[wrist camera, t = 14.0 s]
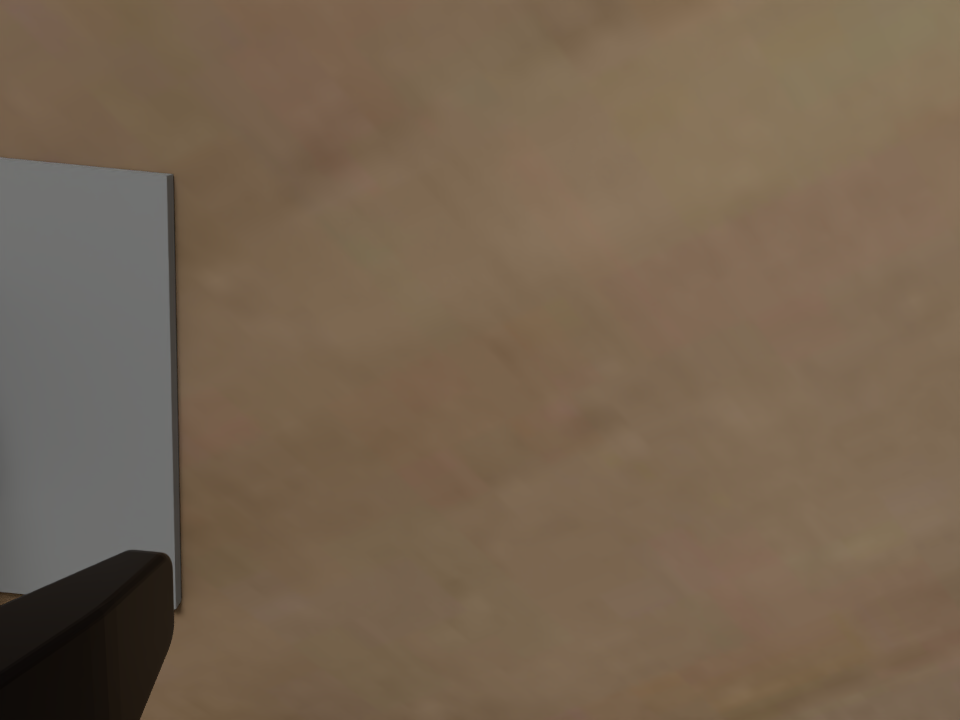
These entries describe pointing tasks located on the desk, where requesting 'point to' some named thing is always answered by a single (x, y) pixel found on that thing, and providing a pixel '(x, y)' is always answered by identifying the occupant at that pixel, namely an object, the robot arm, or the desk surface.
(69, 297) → the grey square plate
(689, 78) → the desk surface
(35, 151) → the desk surface
